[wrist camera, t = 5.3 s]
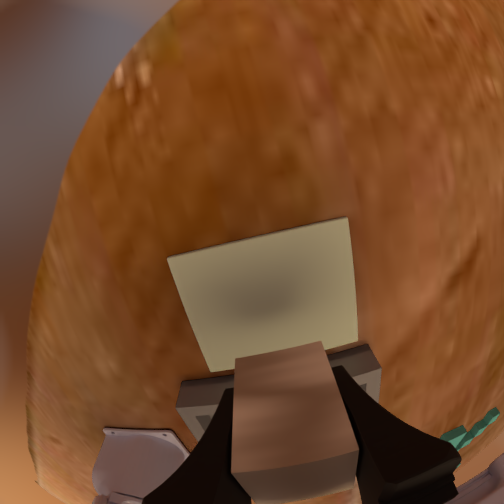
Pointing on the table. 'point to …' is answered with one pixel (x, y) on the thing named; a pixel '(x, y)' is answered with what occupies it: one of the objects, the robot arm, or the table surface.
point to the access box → (211, 389)
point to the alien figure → (462, 437)
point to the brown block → (290, 427)
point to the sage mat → (270, 292)
